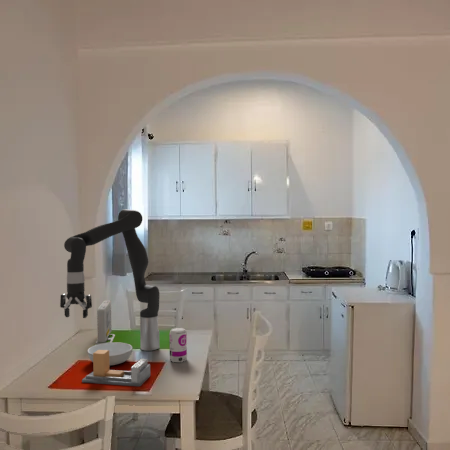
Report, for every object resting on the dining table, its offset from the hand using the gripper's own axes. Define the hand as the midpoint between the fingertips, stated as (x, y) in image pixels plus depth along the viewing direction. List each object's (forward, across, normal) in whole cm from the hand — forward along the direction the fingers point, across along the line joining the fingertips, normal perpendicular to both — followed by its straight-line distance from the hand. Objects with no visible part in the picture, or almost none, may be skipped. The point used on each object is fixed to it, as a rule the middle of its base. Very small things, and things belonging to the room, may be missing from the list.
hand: (76, 317), depth 203 cm
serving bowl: (+25, +10, +14) cm, 30 cm away
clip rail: (+24, +22, -6) cm, 33 cm away
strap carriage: (+23, +19, -6) cm, 30 cm away
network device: (+25, -10, +49) cm, 56 cm away
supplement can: (+25, +41, +22) cm, 53 cm away
